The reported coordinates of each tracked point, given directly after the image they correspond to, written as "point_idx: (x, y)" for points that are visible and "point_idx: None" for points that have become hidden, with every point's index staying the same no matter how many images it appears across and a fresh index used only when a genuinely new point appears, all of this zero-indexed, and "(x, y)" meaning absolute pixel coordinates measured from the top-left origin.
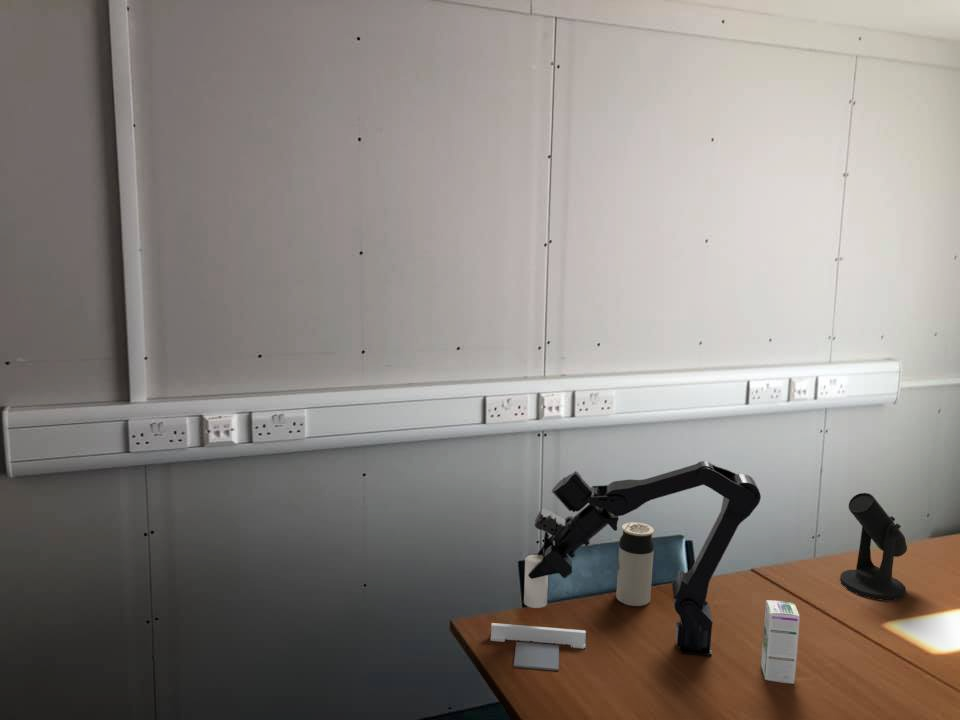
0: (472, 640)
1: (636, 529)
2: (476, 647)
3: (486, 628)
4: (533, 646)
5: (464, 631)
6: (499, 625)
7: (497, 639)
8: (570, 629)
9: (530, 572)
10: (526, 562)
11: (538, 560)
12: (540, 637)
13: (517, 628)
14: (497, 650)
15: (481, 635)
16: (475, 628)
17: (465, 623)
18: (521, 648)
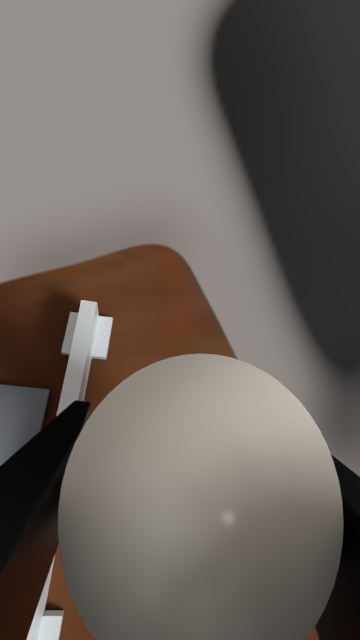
0: (75, 269)
1: None
2: (36, 276)
3: (141, 307)
4: (12, 448)
5: (123, 253)
6: (78, 324)
7: (66, 331)
8: (30, 638)
9: (69, 415)
10: (154, 367)
11: (178, 518)
12: None
13: (63, 387)
14: (13, 331)
15: (102, 292)
16: (140, 280)
17: (165, 258)
18: (1, 404)
